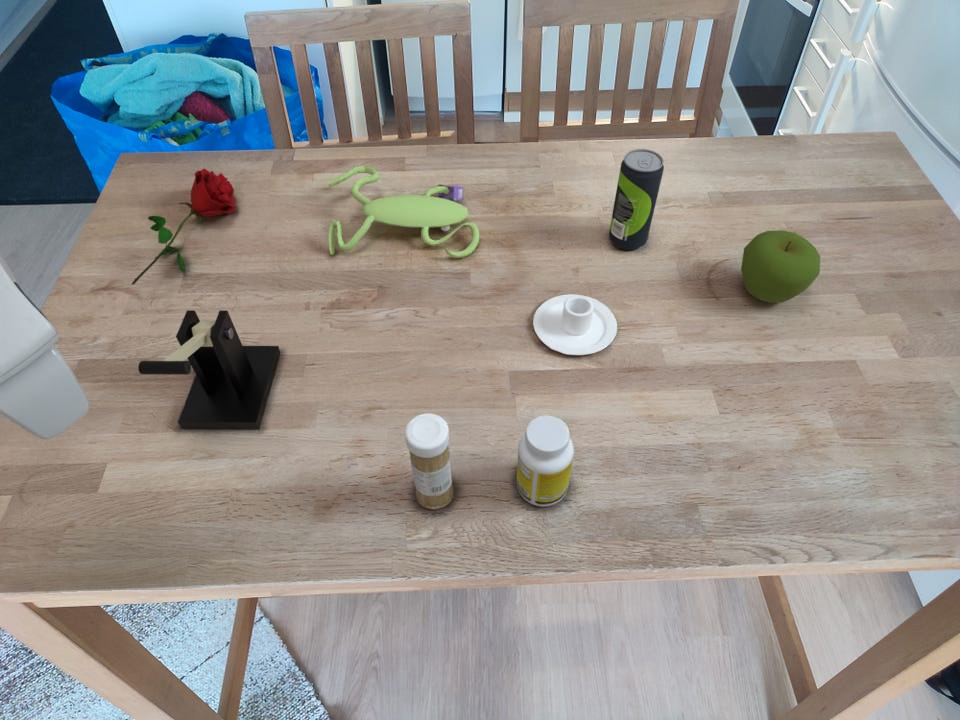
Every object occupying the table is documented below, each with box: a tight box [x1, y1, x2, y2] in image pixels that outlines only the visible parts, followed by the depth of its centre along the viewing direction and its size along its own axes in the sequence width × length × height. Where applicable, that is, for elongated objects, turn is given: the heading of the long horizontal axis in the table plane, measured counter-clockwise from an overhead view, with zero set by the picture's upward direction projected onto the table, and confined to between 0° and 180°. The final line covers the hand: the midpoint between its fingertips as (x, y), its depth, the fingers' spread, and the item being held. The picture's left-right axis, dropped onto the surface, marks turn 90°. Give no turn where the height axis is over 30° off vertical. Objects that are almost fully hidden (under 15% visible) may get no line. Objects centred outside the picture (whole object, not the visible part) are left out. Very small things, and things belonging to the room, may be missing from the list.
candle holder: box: [532, 293, 618, 356], centre depth 94 cm, size 12×12×4 cm
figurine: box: [327, 165, 481, 259], centre depth 109 cm, size 18×27×6 cm
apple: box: [740, 230, 821, 304], centre depth 96 cm, size 11×10×10 cm
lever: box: [138, 320, 216, 376], centre depth 75 cm, size 13×5×2 cm, turn 179°
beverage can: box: [608, 148, 665, 251], centre depth 102 cm, size 6×6×15 cm
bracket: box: [175, 309, 281, 430], centre depth 84 cm, size 13×10×13 cm
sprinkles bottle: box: [404, 412, 455, 511], centre depth 73 cm, size 5×5×13 cm
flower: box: [131, 168, 237, 286], centre depth 105 cm, size 9×10×30 cm
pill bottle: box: [516, 414, 575, 508], centre depth 74 cm, size 6×6×11 cm
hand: (9, 368), depth 53 cm, fingers open, 8 cm apart
